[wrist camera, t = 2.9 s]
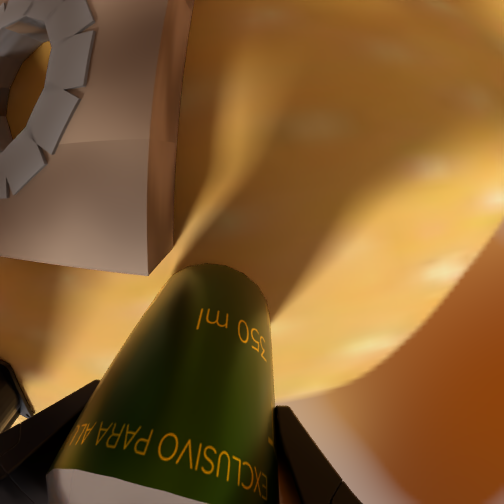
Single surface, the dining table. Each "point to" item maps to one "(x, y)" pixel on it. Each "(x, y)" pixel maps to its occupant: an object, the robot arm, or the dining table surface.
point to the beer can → (181, 404)
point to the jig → (93, 132)
